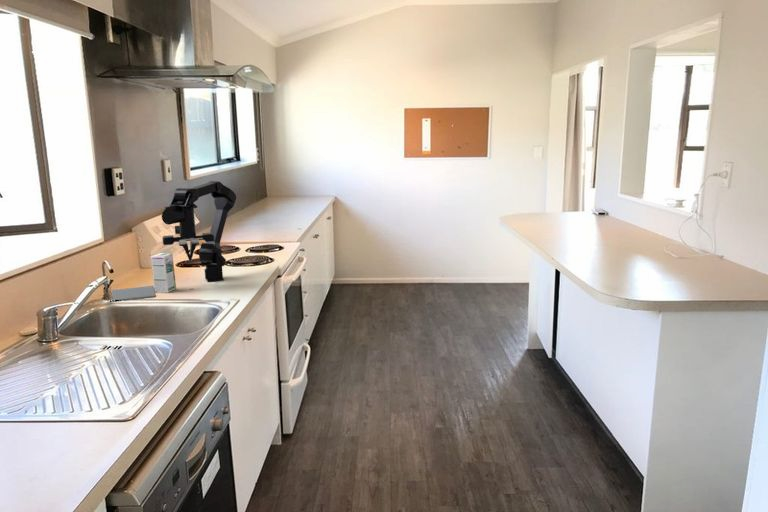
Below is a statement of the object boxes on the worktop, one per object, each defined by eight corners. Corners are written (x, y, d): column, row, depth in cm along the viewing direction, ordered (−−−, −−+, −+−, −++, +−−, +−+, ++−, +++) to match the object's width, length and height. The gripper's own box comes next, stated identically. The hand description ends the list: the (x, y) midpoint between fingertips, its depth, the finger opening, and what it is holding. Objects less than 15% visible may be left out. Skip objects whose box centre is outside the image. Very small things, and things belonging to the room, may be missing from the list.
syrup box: (168, 293, 213) (164, 256, 210) (154, 292, 214) (150, 255, 211) (176, 289, 218) (173, 253, 215) (162, 288, 219) (159, 252, 216)
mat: (153, 287, 221) (153, 285, 221) (155, 297, 207) (155, 295, 207) (108, 291, 215) (108, 290, 215) (107, 302, 201) (107, 300, 201)
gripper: (209, 216, 225) (212, 254, 229) (160, 219, 218) (163, 258, 221) (213, 220, 216) (215, 259, 219) (161, 223, 208) (165, 264, 211)
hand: (190, 260), depth 218 cm, fingers closed
